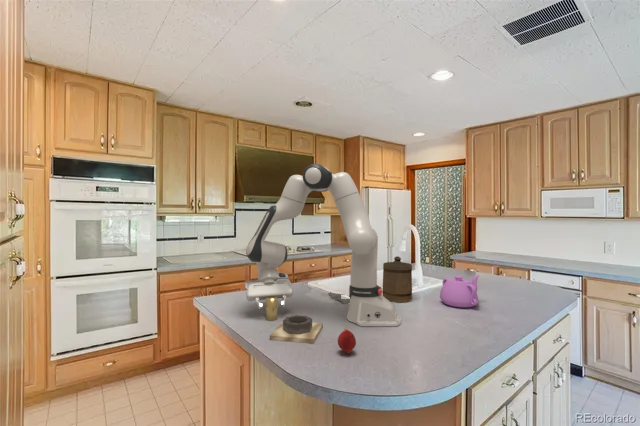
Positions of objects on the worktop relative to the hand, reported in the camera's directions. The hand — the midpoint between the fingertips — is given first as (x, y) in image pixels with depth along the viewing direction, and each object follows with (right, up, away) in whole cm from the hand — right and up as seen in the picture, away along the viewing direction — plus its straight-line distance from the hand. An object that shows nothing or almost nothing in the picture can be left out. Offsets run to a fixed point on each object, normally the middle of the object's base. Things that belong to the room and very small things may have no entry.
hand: (271, 307), depth 135 cm
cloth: (+32, -6, +32) cm, 45 cm away
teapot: (+90, -5, +23) cm, 93 cm away
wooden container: (+61, -5, +32) cm, 69 cm away
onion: (+29, -5, -32) cm, 44 cm away
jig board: (+12, -5, -15) cm, 20 cm away
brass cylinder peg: (0, -5, 0) cm, 5 cm away
